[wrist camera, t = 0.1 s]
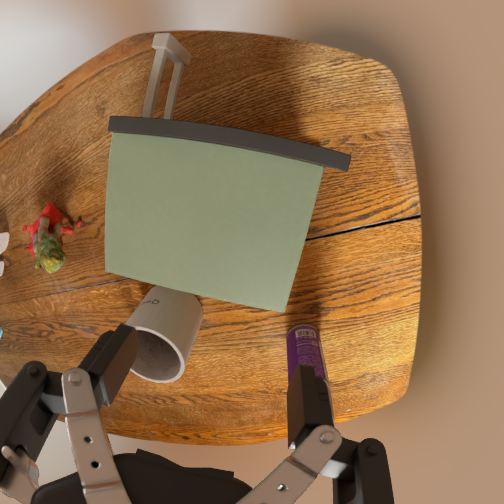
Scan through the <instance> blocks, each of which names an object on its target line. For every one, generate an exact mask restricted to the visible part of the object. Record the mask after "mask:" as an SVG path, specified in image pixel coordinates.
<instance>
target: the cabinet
mask: <svg viewBox="0 0 504 504" xmlns="http://www.w3.org/2000/svg"><path fill="white" fill-rule="evenodd" d="M108 131H112V132H113V133H112V141H111V148H110V157H109V166H108V177H107V190H106V209H105V271H106V272H110V273H114V274H117V275H121V276H124V277H128V278H132V279H136V280H139V281H143V282H147V283H151V284H155V285H159V286H163V287H167V288H171V289H175V290H179V291H183V292H188V293H192V294H196V295H200V296H205V297H209V298H214V299H218V300H223V301H228V302H232V303H237V304H242V305H247V306H252V307H256V308H262V309H267V310H272V311H277V312H282V313H284V311H285V308H286V305H287V302H288V298H289V295H290V292H291V288H292V285H293V282H294V278H295V275H296V271H297V268H298V265H299V261H300V258H301V254H302V250H303V247H304V243H305V240H306V236H307V232H308V229H309V225H310V221H311V217H312V213H313V210H314V206H315V202H316V198H317V194H318V190H319V186H320V182H321V178H322V174H323V170H324V166H327V167H330V168H334V169H338V170H341V171H345V172H347V171H348V168H349V164H350V160H351V155H348V154H345V153H341V152H338V151H334V150H331V149H327V148H324V147H320V146H316V145H312V144H308V143H304V142H300V141H296V140H292V139H287V138H283V137H278V136H274V135H269V134H264V133H259V132H254V131H249V130H243V129H237V128H231V127H225V126H219V125H212V124H205V123H197V122H189V121H180V120H170V119H159V118H146V117H129V116H110V119H109V125H108ZM322 165H323V166H322Z"/></svg>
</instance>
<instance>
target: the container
mask: <svg viewBox="0 0 504 504" xmlns="http://www.w3.org/2000/svg"><path fill="white" fill-rule="evenodd" d="M286 341H287V361H288V384H289V383H290V381H291V378H292V376H293V374H294V372H295V369H296V367H297V365H298V364H302V365H310V366H314V370H315V377H322V378H323V380H324V381H325V383H326V384H327V388H328V393H329V394H328V395H329V399H330V401H329V402H330V405H331V411H332V417H333V423H334V413H333V406H332V399H331V392H330V385H329V380H328V374H327V369H326V364H325V359H324V354H323V350H322V345H321V340H320V335H319V332H318V330H317V329H316V328H315V327H314V326H312V325H309V324H300V325H296V326H294V327H293V328H291V329H290V330H289V332H288V333H287V337H286Z"/></svg>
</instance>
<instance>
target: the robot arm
mask: <svg viewBox="0 0 504 504" xmlns="http://www.w3.org/2000/svg"><path fill="white" fill-rule="evenodd" d="M136 356H137V335H136V328H135V327H132V326H129V325H126V324H122V323H121V324H120V325H119V326H118V328H117V329H116V330H115V331H112V330H109V331H107V332H106V333H104V334H102V335H101V337H100V338H99V339H98V340H97V343H95V344H94V346H93V348H91V350H90V351H89V352H88V354H87V355H86V357H85V358H84V359H83V361H82V362H81V363H80V365H79V366H78V367H77V368H71V369H68V370H66V371H65V372H64V373H57V372H51V371H47V369H46V366H45V365H44V364H43V363H41V362H39V361H30V362H28V363H26V364H25V365H24V366H23V368H22V369H21V370H20V372H19V373H18V374H17V376H16V377H15V378H14V380H13V381H12V382H11V384H10V385H9V387H8V388H7V389H6V391H5V392H4V394H3V395H2V397H1V398H0V491H1V492H2V493H4V494H5V495H7V496H8V497H11V498H15V499H16V500H18V501H19V502H21V503H22V504H294V503H295V502H296V500H297V499H298V498H299V497H300V496H301V495H302V494H303V493H304V492H305V491H306V489H307V488H308V487H309V486H310V485H311V484H312V482H313V481H314V480H315V479H316V477H317V475H318V474H320V475H324V476H327V477H331V478H333V504H394V497H393V491H392V484H391V478H390V472H389V466H388V461H387V455H386V450H385V447H384V445H383V444H382V443H381V442H380V441H378V440H377V439H373V438H367V439H364V440H363V441H362V442H361V443H359V442H355V441H352V440H348V439H345V438H343V437H342V436H341V434H340V432H339V431H338V430H337V429H336V428H334V423H333V417H332V411H331V405H330V402H329V401H330V399H329V395H328V394H329V393H328V388H327V384H326V383H325V381H324V380H323V378H322V377H315V370H314V366H310V365H302V364H298V365H297V367H296V369H295V372H294V374H293V376H292V378H291V381H290V383H289V386H288V390H287V415H288V449H295V451H294V452H293V453H292V454H291V455H290V456H289V457H287V458H286V459H285V460H284V461H283V462H282V463H281V464H280V465H279V466H278V467H277V468H276V469H274V470H273V471H272V472H271V473H270V474H269V475H268V476H267V477H266V478H265V479H264V480H263V481H262V482H260V483H259V484H258V485H257V486H256V487H255V488H254V489H252V487H250V486H249V485H248V484H246V483H245V482H243V481H241V480H239V479H237V478H234V477H233V476H234V472H231V471H225V470H219V469H214V468H187V467H182V466H180V465H178V464H176V463H173V462H171V461H170V460H168V459H166V458H164V457H162V456H160V455H157V454H153V453H150V452H147V451H144V450H141V449H137V452H136V453H123V454H117V455H115V454H114V452H113V449H112V447H111V444H110V441H109V438H108V435H107V432H106V429H105V426H104V423H103V419H102V416H101V412H100V409H101V407H102V405H106V406H108V407H110V406H111V404H112V402H113V400H114V398H115V396H116V395H117V393H118V391H119V389H120V387H121V385H122V383H123V382H124V380H125V378H126V376H127V374H128V372H129V371H130V369H131V367H132V365H133V363H134V362H135V359H136ZM59 414H63V415H65V422H66V426H67V431H68V436H69V440H70V444H71V448H72V452H73V456H74V459H75V463H76V467H77V470H78V472H75V473H73V474H71V475H68V476H66V477H63V478H61V479H58V480H55V481H53V482H50V483H48V484H45V485H42V486H40V487H39V485H38V478H39V469H38V467H37V465H36V464H35V462H36V460H37V457H38V455H39V454H40V451H41V449H42V447H43V445H44V443H45V441H46V439H47V437H48V435H49V433H50V431H51V429H52V427H53V425H54V423H55V421H56V420H57V418H58V416H59Z"/></svg>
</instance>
